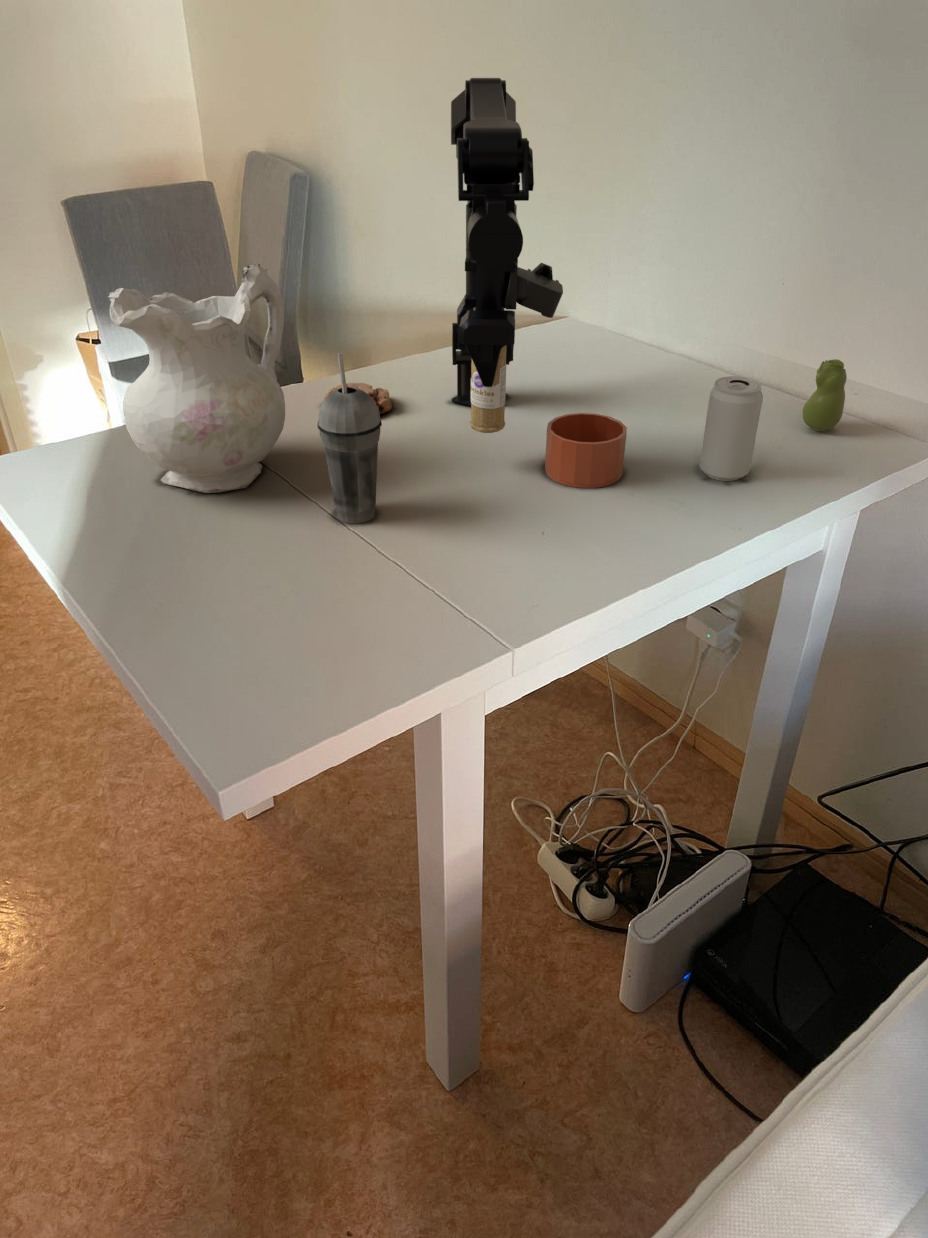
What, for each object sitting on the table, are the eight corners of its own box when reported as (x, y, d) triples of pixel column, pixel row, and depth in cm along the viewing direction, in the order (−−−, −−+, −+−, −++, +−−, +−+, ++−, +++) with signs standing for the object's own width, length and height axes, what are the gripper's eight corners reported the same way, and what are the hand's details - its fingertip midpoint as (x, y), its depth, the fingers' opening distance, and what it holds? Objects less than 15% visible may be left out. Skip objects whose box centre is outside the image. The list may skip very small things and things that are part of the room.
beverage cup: (395, 506, 117) (388, 342, 106) (371, 533, 111) (361, 363, 100) (341, 497, 119) (328, 336, 108) (314, 523, 113) (298, 356, 102)
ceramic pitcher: (237, 436, 137) (201, 253, 124) (339, 459, 127) (311, 262, 114) (112, 491, 123) (57, 290, 110) (216, 522, 112) (168, 305, 100)
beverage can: (753, 467, 126) (769, 378, 119) (743, 487, 121) (759, 395, 115) (704, 458, 128) (718, 371, 122) (693, 477, 123) (706, 387, 117)
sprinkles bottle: (464, 431, 122) (464, 326, 114) (477, 417, 125) (478, 314, 117) (498, 436, 121) (501, 331, 113) (510, 422, 124) (513, 319, 116)
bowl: (531, 476, 124) (533, 433, 120) (565, 449, 131) (568, 407, 127) (603, 494, 119) (607, 449, 116) (634, 465, 127) (638, 422, 123)
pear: (833, 439, 134) (849, 369, 128) (794, 432, 136) (809, 362, 130) (842, 426, 138) (857, 357, 132) (804, 419, 140) (818, 351, 134)
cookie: (337, 392, 149) (336, 373, 147) (402, 399, 146) (402, 380, 145) (312, 416, 141) (310, 396, 139) (380, 423, 138) (379, 403, 137)
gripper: (563, 269, 102) (555, 409, 111) (558, 231, 118) (552, 356, 127) (459, 268, 103) (459, 407, 112) (468, 230, 118) (467, 354, 127)
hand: (488, 379), depth 119 cm, fingers closed on sprinkles bottle, 4 cm apart
